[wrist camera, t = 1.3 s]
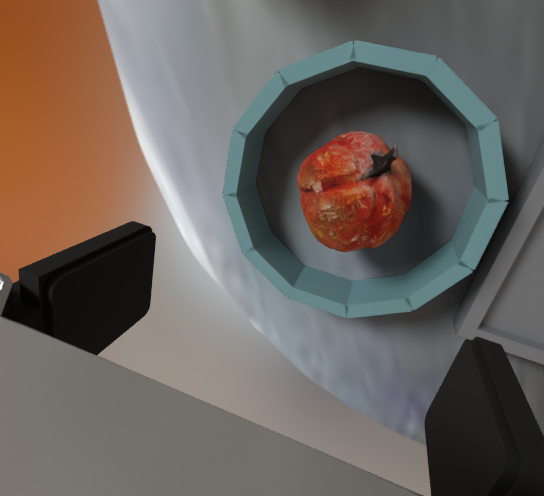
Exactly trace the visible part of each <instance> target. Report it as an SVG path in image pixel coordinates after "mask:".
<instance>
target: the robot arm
mask: <svg viewBox="0 0 544 496" xmlns="http://www.w3.org/2000/svg"><path fill="white" fill-rule="evenodd" d="M155 242H156V235H155V233H153V232H152V229H151V227H149V226H146V225H143V224H140V223H137V222H134V221H132V222H129V223H126V224H124V225H122V226H119V227H117V228H115V229H112V230H110V231H108V232H105V233H103V234H100V235H98V236H96V237H93V238H91V239H89V240H86V241H84V242H82V243H79V244H77V245H75V246H72V247H70V248H68V249H65V250H63V251H61V252H58V253H56V254H53V255H51V256H49V257H47V258H44V259H42V260H40V261H37V262H35V263H32V264H30V265H28V266H25V267H23V268H21V269H19V281H17V282H15V283H12V280H11V278H10V277H9V276H7V275H5V274H3V273H0V496H423V495H420V494H418V493H416V492H414V491H411V490H409V489H407V488H404V487H402V486H400V485H397V484H395V483H393V482H391V481H388V480H386V479H383V478H381V477H379V476H377V475H374V474H372V473H370V472H367V471H365V470H363V469H361V468H358V467H356V466H354V465H351V464H349V463H347V462H345V461H342V460H340V459H337V458H335V457H333V456H331V455H328V454H326V453H324V452H321V451H319V450H317V449H315V448H312V447H310V446H308V445H305V444H303V443H301V442H298V441H296V440H294V439H291V438H289V437H286V436H284V435H282V434H280V433H277V432H275V431H272V430H270V429H268V428H265V427H263V426H261V425H258V424H256V423H253V422H251V421H249V420H247V419H244V418H242V417H240V416H237V415H235V414H233V413H230V412H228V411H226V410H223V409H221V408H219V407H216V406H214V405H212V404H209V403H207V402H204V401H202V400H200V399H198V398H195V397H193V396H191V395H188V394H186V393H184V392H181V391H179V390H177V389H174V388H172V387H170V386H167V385H165V384H163V383H160V382H158V381H156V380H153V379H151V378H149V377H146V376H144V375H142V374H139V373H137V372H134V371H132V370H130V369H128V368H125V367H123V366H120V365H118V364H116V363H114V362H111V361H109V360H106V359H104V358H102V357H99V356H97V355H98V354H99V353H100V352H101V351H103V350H104V349H105V348H106V347H107V346H109V345H110V344H111V343H112V342H114V340H116V339H117V338H118V337H120V336H121V335H122V334H123V333H124V332H126V331H127V330H128V329H129V328H130V327H132V326H133V325H134V324H135V323H136V322H137V321H139V320H140V319H141V318H142V317H144V316H145V315H146V313H147V312H148V310H149V307H150V301H151V289H152V276H153V266H154V254H155ZM425 435H426V445H427V455H428V466H429V476H430V487H431V496H544V437H543V434H542V432H541V430H540V428H539V426H538V423H537V421H536V419H535V417H534V415H533V412H532V410H531V408H530V406H529V404H528V401H527V399H526V397H525V395H524V393H523V390H522V388H521V386H520V384H519V382H518V379H517V377H516V375H515V373H514V371H513V369H512V366H511V364H510V362H509V360H508V358H507V355H506V353H505V351H504V349H503V347H502V345H501V344H498V343H495V342H492V341H489V340H486V339H483V338H480V337H475V338H474V339H473V340H469V339H466V340H465V341H464V343H463V344H462V346H461V348H460V350H459V352H458V354H457V356H456V358H455V360H454V362H453V363H452V365H451V367H450V369H449V371H448V373H447V375H446V377H445V379H444V381H443V383H442V384H441V386H440V388H439V390H438V392H437V394H436V396H435V398H434V400H433V402H432V404H431V405H430V407H429V409H428V411H427V414H426V417H425Z"/></svg>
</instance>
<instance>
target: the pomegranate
mask: <svg viewBox="0 0 544 496" xmlns="http://www.w3.org/2000/svg"><path fill="white" fill-rule="evenodd" d="M397 155H398V149H397V146H396V142H395V143H394V146H393V149H392V150H389V148H388V146H387V145H386V144H385V142H384V141H383V140H382V139H381V137H380V136H379V135H374V134H372V133H369V132H362V131H354V132H348V133H345V134H342V135H339V136H337V137H335V138H334V139H333V140H332V141H330V142H329V143H327V144H325V145H324V146H322V147H321V148H319V149H318V150H316V151H315V152H313V153H312V154H310V155H309V156H308V157H307V158H306V159H305V160H304V161H303V163H302V165H301V168H300V172H299V174H298V188H299V192H300V196H301V205H302V209H303V213H304V216H305V218H306V221H307V223H308V225H309V228H310V230H311V232H312V233H313V235H314V236H315V238H316V239H317V240H318V241H319V242H320V243H322V244H324V245H325V246H327V247H329V248H331V249H335V250H337V251H341V252H350V251H354V250H359V249H362V248H370V249H371V248H376V247H378V246H380V245H382V244H383V243H384V242H386V241H387V240H388V239H389V238H391V237H392V236H393V235H394V234H395V233H396V232H397V230H398V229H399V227H400V225H401V223H402V220H403V218H404V214H405V213H406V212H407V211H408V209H409V206H410V202H411V195H412V182H411V175H410V173H409V171H408V168H407V166H406V164H405V162H404V161H403V159H402V158H401V157H397Z"/></svg>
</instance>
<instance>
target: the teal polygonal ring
mask: <svg viewBox="0 0 544 496" xmlns="http://www.w3.org/2000/svg"><path fill="white" fill-rule="evenodd" d="M436 58H437V56H434V55H429V54H424V53H419V52H414V51H409V50H404V49H399V48H394V47H389V46H383V45H378V44H373V43H368V42H363V41H358V40H355V42H353V41H349V42H346V43H344V44H341V45H339V46H336V47H334V48H331V49H329V50H326V51H324V52H321V53H319V54H316V55H314V56H311V57H309V58H306V59H304V60H301V61H299V62H296V63H294V64H291V65H289V66H286V67H284V68H281V69H279V71H276V73H275V74H274V75H273V77H272V78H271V79H270V81H269V82H268V83H267V84H266V86H265V87H264V88H263V90H262V91H261V92H260V94H259V95H258V96H257V97H256V99H255V100H254V101H253V103H252V104H251V105H250V106H249V108H248V109H247V110H246V112H245V113H244V114H243V116H242V117H241V118H240V119H239V121H238V122H237V123H236V125H235V126H234V127H233V128H234V130H232V135H231V142H230V148H229V155H228V161H227V168H226V174H225V181H224V187H223V194H225V195H223V198H224V201H225V204H226V207H227V210H228V213H229V216H230V218H231V221H232V224H233V227H234V230H235V233H236V236H237V239H238V242H239V245H240V248H241V251H242V253H245V254H244V256H245V257H246V258H247V259H248V260H249V261H250V262H251V263H252V264H253V265H254V266H255V267H256V268H257V269H258V270H259V271H260V272H261V273H262V274H263V275H264V276H265V277H266V278H267V279H268V280H269V281H270V282H271V283H272V284H273V285H274V286H275V287H276V288H277V289H278V290H279V291H280V292H281V293H282V294H283V295H284V296H285V297H286V296H287V295H288V298H289V299H292V300H295V301H298V302H300V303H303V304H306V305H309V306H312V307H315V308H318V309H320V310H323V311H326V312H329V313H332V314H335V315H337V316H340V317H343V318H346V315H347V318H356V317H365V316H374V315H384V314H393V313H402V312H411V311H412V309H413V310H416V309H418V308H419V307H421V306H422V305H424V304H425V303H427V302H428V301H430V300H431V299H433V298H434V297H436V296H437V295H439V294H440V293H442V292H443V291H445V290H446V289H448V288H449V287H451V286H452V285H454V284H455V283H457V282H458V281H460V280H461V279H463V278H464V277H466V276H467V275H469V274H470V273H472V272H473V271H472V269H473V270H475V268H476V266H477V264H478V262H479V260H480V258H481V256H482V254H483V252H484V250H485V248H486V246H487V244H488V242H489V240H490V238H491V236H492V234H493V232H494V230H495V228H496V226H497V224H498V222H499V220H500V218H501V216H502V214H503V212H504V210H505V208H506V206H507V204H508V202H507V201H506V200H509V198H508V190H507V183H506V175H505V168H504V160H503V152H502V145H501V137H500V129H499V122H498V120H495V119H496V118H497V117H496V116H495V115H494V114H493V113H492V112H491V111H490V110H489V109H488V108H487V107H486V106H485V105H484V104H483V102H482V101H481V100H480V99H479V98H478V97H477V96H476V95H475V94H474V93H473V92H472V91H471V90H470V89H469V88H468V87H467V86H466V85H465V84H464V83H463V81H462V80H461V79H460V78H459V77H458V76H457V75H456V74H455V73H454V72H453V71H452V70H451V69H450V68H449V67H448V66H447V65H446V64H445V63H444V62H443V60H442V59H441V58H440V57H439V58H438V59H437V60H436ZM435 60H436V61H435ZM358 67H362V68H367V69H372V70H376V71H381V72H386V73H391V74H395V75H400V76H405V77H410V78H414V79H419V80H422V81H423V82H424V83H425V84H426V85H427V86H428V87H429V88H430V89H431V90H432V91H433V92H434V93H435V94H436V95H437V96H438V97H439V99H440V100H441V101H442V102H443V103H444V104H445V105H446V106H447V107H448V108H449V109H450V110H451V111H452V112H453V113H454V114H455V115H456V116H457V117H458V118H459V119H460V120H461V121H462V123H463V124H464V125H465V126H466V132H467V138H468V145H469V151H470V158H471V164H472V171H473V177H474V183H475V188H474V190H473V192H472V194H471V197H470V199H469V201H468V203H467V205H466V208H465V210H464V212H463V214H462V217H461V219H460V221H459V223H458V226H457V228H456V230H455V232H454V234H453V237H452V239H451V241H450V242H448V243H447V244H445V245H444V246H443V247H441V248H440V249H439V250H437V251H436V252H434V253H433V254H432V255H430V256H429V257H428V258H426V259H425V260H423V261H422V262H421V263H419V264H418V265H417V266H415V267H414V268H412V269H411V270H410V271H408V272H407V273H406V274H400V275H394V276H387V277H380V278H373V279H367V280H360V281H350V280H347V279H343V278H340V277H337V276H334V275H331V274H328V273H325V272H322V271H319V270H316V269H313V268H310V267H307V266H305V265H304V264H303V263H302V262H301V261H300V260H299V259H298V258H297V257H296V256H295V255H294V254H293V253H292V252H291V251H290V250H289V249H288V248H287V247H286V246H285V245H284V244H283V243H282V242H281V241H280V240H279V239H278V238H277V237H276V236H275V235H274V234H273V233H272V232H271V231H270V228H269V225H268V222H267V218H266V215H265V212H264V209H263V206H262V203H261V199H260V196H259V193H258V190H257V187H256V179H257V174H258V169H259V163H260V158H261V153H262V148H263V142H264V137H265V132H266V131H267V130H268V128H269V127H270V126H271V125H272V124H273V122H274V121H275V120H276V119H277V118H278V116H279V115H280V114H281V113H282V112H283V110H284V109H285V108H286V107H287V106H288V104H289V103H290V102H291V101H292V100H293V98H294V97H295V96H296V95H297V94H298V92H299V91H300V90H301V89H302V88H304V87H306V86H309V85H312V84H315V83H317V82H320V81H323V80H326V79H328V78H331V77H334V76H336V75H339V74H342V73H345V72H347V71H350V70H353V69H355V68H358Z"/></svg>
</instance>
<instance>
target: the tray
mask: <svg viewBox="0 0 544 496" xmlns="http://www.w3.org/2000/svg"><path fill="white" fill-rule="evenodd" d="M453 323H454V327H455V331H456V335H457V336H460V337H463V338H466V339H469V340H473V339H474V338H475V337H480V338H483V339H486V340H489V341H492V342H495V343H498V344H501V345H502V347H503V349H504V351H505V352H507V353H510V354H513V355H516V356H519V357H522V358H525V359H528V360H531V361H534V362H537V363H540V364H543V365H544V140H543V142H542V144H541V146H540V148H539V150H538V152H537V154H536V156H535V158H534V160H533V162H532V164H531V166H530V168H529V170H528V172H527V174H526V176H525V178H524V180H523V182H522V184H521V186H520V188H519V190H518V192H517V194H516V196H515V198H514V200H513V202H512V204H511V206H510V208H509V210H508V212H507V214H506V216H505V218H504V220H503V222H502V224H501V226H500V228H499V230H498V232H497V234H496V236H495V238H494V240H493V242H492V244H491V246H490V248H489V250H488V252H487V254H486V256H485V258H484V260H483V262H482V264H481V266H480V268H479V270H478V272H477V274H476V276H475V278H474V280H473V282H472V284H471V286H470V288H469V290H468V292H467V294H466V296H465V298H464V300H463V302H462V304H461V306H460V308H459V310H458V312H457V314H456V316H455V318H454V320H453Z"/></svg>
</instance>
